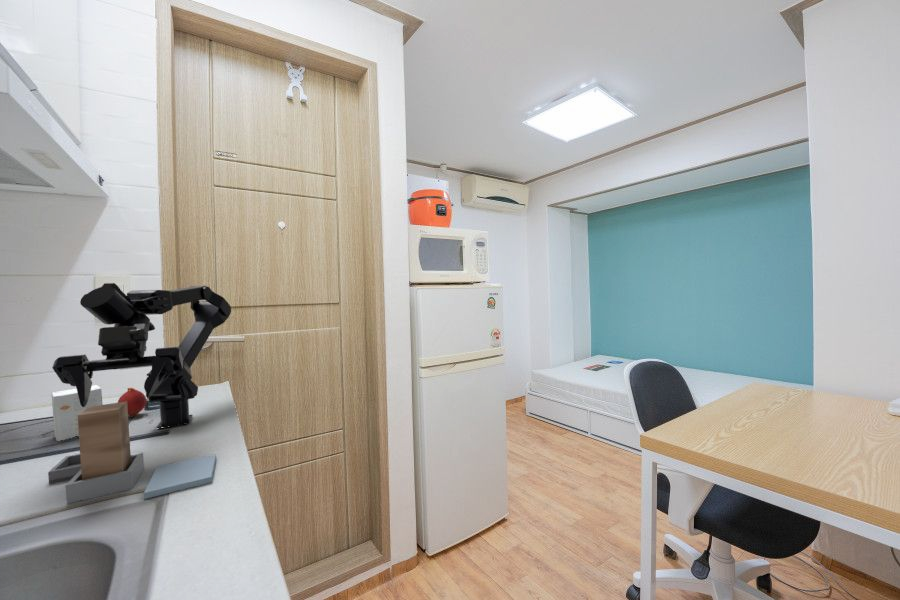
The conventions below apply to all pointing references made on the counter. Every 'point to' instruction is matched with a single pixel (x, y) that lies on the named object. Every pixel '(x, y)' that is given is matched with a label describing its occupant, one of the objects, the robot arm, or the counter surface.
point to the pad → (181, 475)
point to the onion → (133, 401)
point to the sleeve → (104, 482)
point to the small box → (71, 410)
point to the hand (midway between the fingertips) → (116, 401)
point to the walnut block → (104, 440)
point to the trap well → (65, 469)
